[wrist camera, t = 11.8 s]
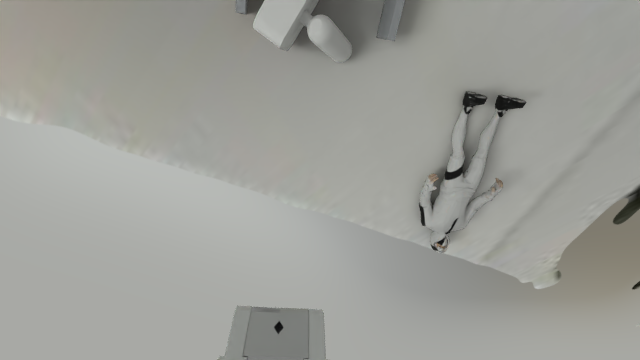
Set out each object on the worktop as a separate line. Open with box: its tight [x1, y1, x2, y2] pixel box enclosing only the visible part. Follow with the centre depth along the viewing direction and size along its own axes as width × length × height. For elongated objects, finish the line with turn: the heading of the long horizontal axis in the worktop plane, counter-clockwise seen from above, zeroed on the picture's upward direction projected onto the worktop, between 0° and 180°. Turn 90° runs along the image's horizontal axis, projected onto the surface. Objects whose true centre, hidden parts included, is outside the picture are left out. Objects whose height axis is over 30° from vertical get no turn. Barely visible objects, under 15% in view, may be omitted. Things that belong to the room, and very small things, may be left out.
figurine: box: [419, 92, 526, 253], centre depth 51 cm, size 13×6×30 cm
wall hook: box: [253, 0, 352, 63], centre depth 34 cm, size 8×10×10 cm
